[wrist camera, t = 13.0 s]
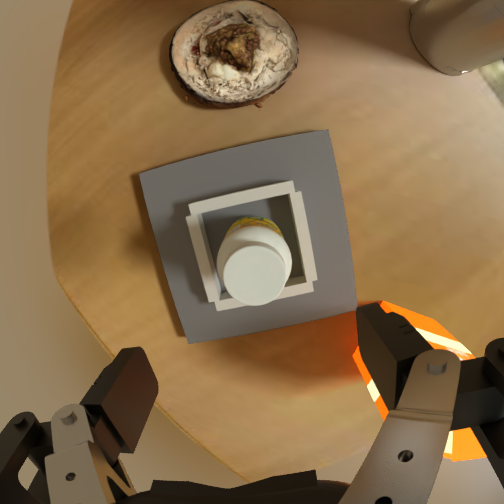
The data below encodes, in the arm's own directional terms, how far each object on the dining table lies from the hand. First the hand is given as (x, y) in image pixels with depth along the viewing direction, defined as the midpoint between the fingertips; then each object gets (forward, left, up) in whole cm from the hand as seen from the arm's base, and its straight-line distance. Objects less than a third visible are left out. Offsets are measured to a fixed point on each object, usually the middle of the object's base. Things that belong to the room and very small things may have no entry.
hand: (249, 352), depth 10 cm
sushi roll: (-19, +2, -21) cm, 28 cm away
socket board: (0, 0, -20) cm, 20 cm away
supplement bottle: (0, 0, -18) cm, 18 cm away
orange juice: (+15, +14, -20) cm, 29 cm away
